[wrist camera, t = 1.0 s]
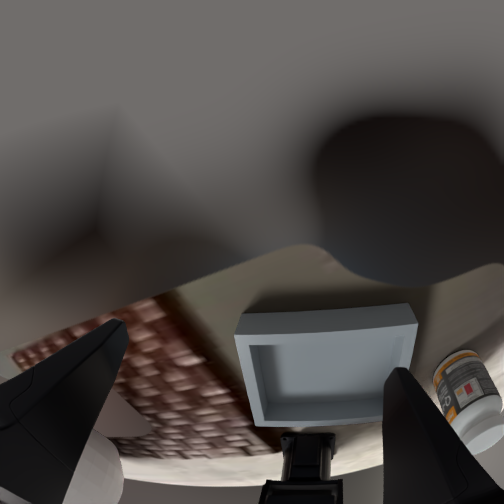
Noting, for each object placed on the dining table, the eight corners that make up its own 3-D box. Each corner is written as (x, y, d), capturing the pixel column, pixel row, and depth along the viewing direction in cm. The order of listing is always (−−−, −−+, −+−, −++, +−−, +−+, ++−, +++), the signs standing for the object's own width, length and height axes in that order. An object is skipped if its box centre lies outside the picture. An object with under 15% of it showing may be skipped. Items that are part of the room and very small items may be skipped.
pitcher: (103, 414, 37) (30, 530, 15) (155, 472, 43) (111, 570, 21) (42, 398, 42) (-22, 481, 19) (90, 454, 48) (45, 531, 25)
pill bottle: (424, 369, 24) (449, 449, 15) (471, 337, 22) (510, 411, 13) (440, 394, 25) (462, 465, 16) (482, 366, 23) (514, 433, 14)
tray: (390, 397, 26) (395, 419, 24) (260, 404, 29) (255, 425, 27) (408, 302, 22) (418, 323, 19) (241, 313, 25) (233, 335, 22)
